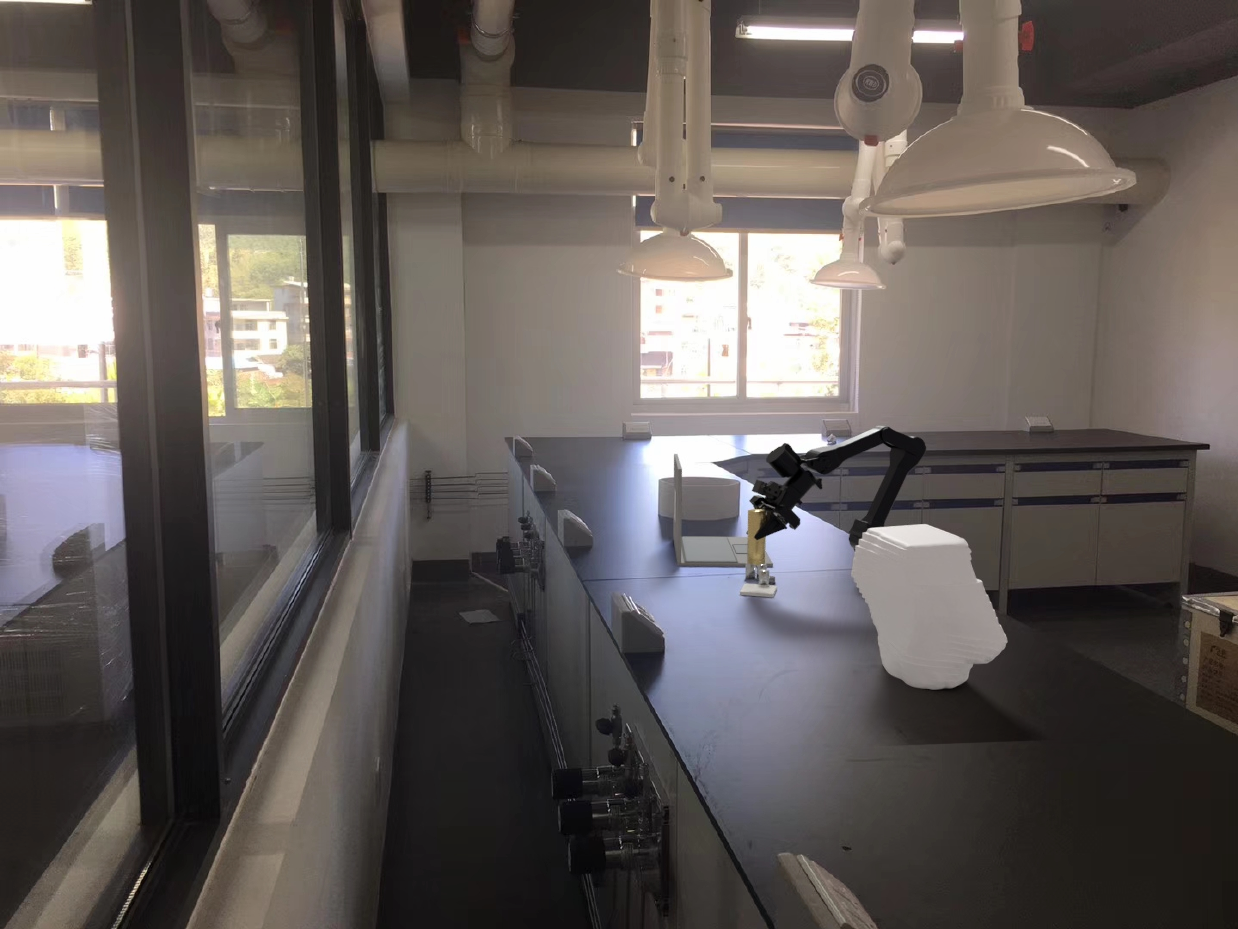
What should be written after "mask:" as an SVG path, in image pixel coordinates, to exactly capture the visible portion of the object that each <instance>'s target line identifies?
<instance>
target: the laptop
mask: <svg viewBox="0 0 1238 929" xmlns="http://www.w3.org/2000/svg"><path fill="white" fill-rule="evenodd" d="M682 473H683V468H682V465H681V462H680V458H679V455H678V453H674V454H673V529H672V530H673V532H672V533H673V544H674V550H675V551H674V552H675V558H676V564H677V567H701V568H702V567H705V568H707V567H708V568H709V567H710V568H711V567H713V568H714V567H715V568H716V567H719V568H720V567H721V568H724V567H725V568H726V567H727V568H730V567H731V568H736V567H737V568H746V562H747V541H748V536H709V535H708V536H707V535H705V536H702V535H701V536H699V535H698V536H697V535H695V536H689V535H687V536H686V535H685V536H684V535H683V536H682V520H683V519H682V517H683V516H682V508H683V506H682V504H683V500H682V498H683V496H682V493H683V491H682V490H683V474H682ZM765 564H767V568H774V563H773V561H772V560H771V558H770V556H769V554H768V552H767V551H766V550H765ZM756 568H757V565H756Z"/></svg>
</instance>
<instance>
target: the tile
mask: <svg viewBox="0 0 1238 929" xmlns="http://www.w3.org/2000/svg"><path fill="white" fill-rule="evenodd" d="M777 590H778V585H774V584H769V585H760V584H759V583H758V584H756V583H744V584H743V586H742V588H741V589H740V591H739V596H740V595H741V596H753V597H763V598H765V597H766V598H774V597H775V594H776V592H777Z"/></svg>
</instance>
